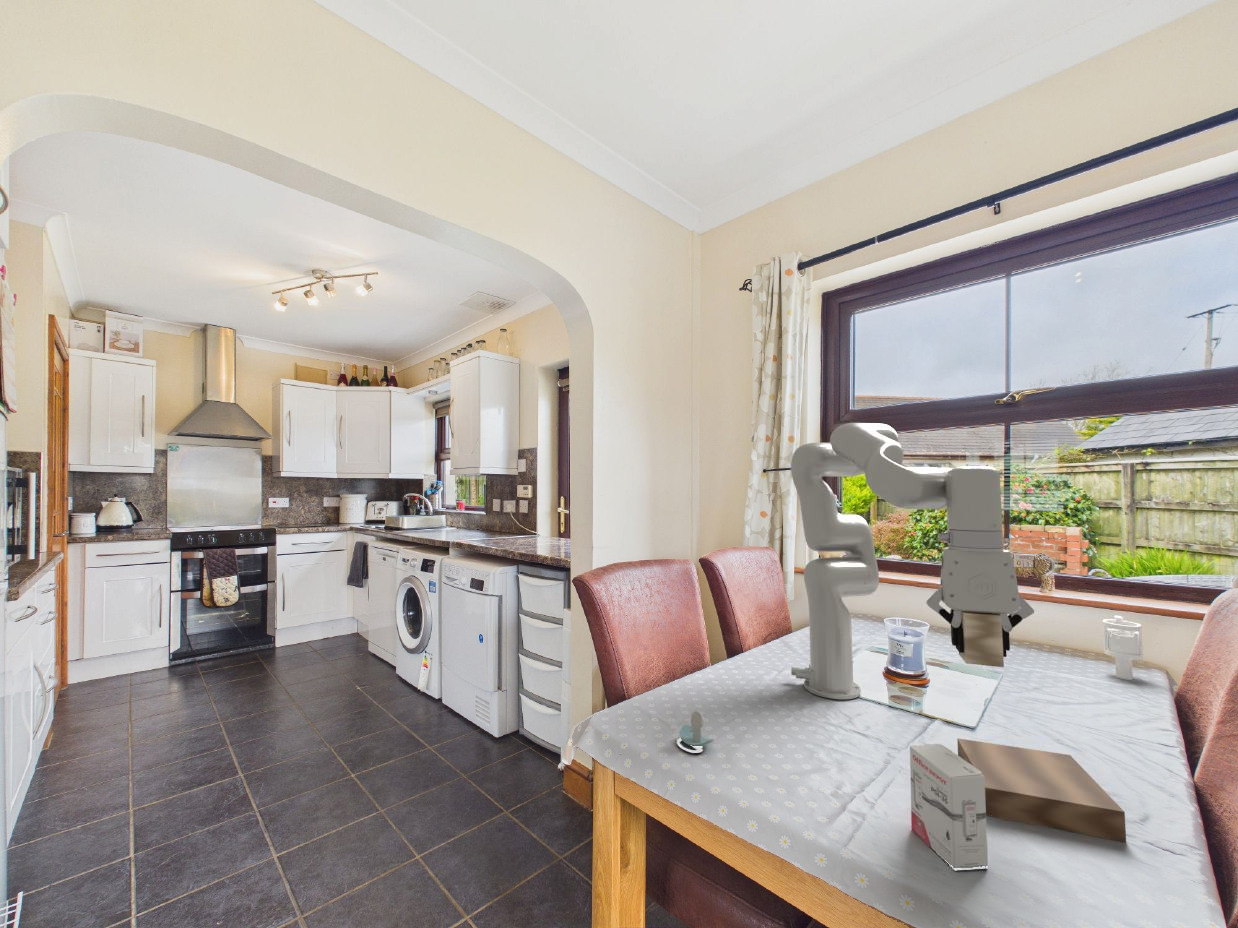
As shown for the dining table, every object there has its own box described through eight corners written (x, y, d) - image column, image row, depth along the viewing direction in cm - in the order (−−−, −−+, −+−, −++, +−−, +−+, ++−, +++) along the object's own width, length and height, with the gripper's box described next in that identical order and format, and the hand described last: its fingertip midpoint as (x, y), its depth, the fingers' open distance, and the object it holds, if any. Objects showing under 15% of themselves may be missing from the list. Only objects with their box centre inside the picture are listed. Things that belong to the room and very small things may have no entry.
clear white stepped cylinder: (1139, 675, 130) (1135, 617, 131) (1148, 684, 124) (1145, 623, 125) (1102, 670, 134) (1099, 613, 135) (1109, 679, 128) (1106, 619, 129)
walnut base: (986, 815, 75) (985, 787, 75) (958, 761, 90) (957, 738, 90) (1126, 841, 69) (1124, 811, 69) (1071, 779, 84) (1070, 754, 84)
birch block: (966, 663, 81) (964, 613, 82) (958, 654, 86) (956, 606, 87) (1003, 667, 80) (1001, 615, 80) (994, 657, 84) (991, 609, 85)
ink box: (909, 827, 72) (906, 742, 73) (941, 825, 73) (938, 741, 73) (954, 873, 64) (950, 776, 64) (990, 870, 64) (986, 774, 65)
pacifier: (692, 760, 91) (718, 750, 94) (691, 725, 91) (716, 716, 94) (668, 743, 97) (692, 734, 100) (667, 710, 97) (691, 702, 100)
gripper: (919, 541, 84) (924, 653, 83) (1047, 544, 77) (1054, 666, 76) (912, 537, 91) (917, 640, 90) (1029, 540, 84) (1035, 651, 83)
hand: (980, 651), depth 83 cm, fingers closed on birch block, 5 cm apart
